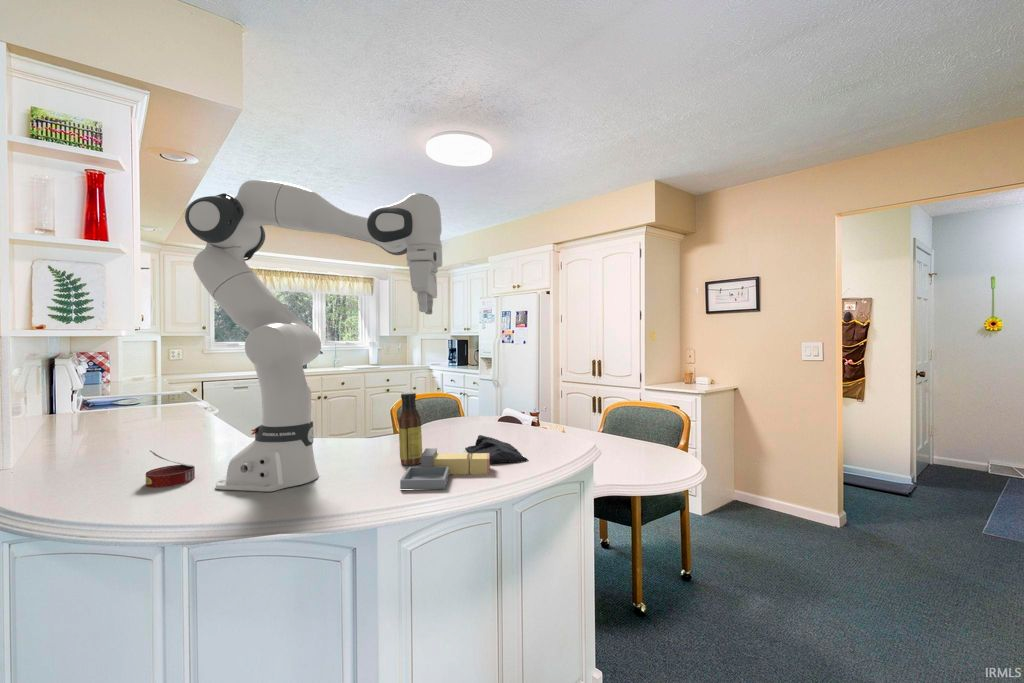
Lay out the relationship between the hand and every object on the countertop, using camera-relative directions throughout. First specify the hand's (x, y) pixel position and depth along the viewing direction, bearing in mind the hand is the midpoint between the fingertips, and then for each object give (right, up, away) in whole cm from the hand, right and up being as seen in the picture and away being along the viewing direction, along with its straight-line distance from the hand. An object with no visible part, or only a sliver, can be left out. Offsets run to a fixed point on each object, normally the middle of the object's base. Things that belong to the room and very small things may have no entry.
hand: (426, 313), depth 117 cm
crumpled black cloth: (+17, -42, +22) cm, 50 cm away
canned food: (-63, -42, -3) cm, 76 cm away
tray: (+1, -42, -6) cm, 42 cm away
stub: (+13, -42, +4) cm, 44 cm away
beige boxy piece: (+5, -42, +4) cm, 42 cm away
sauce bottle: (-7, -42, +13) cm, 44 cm away
